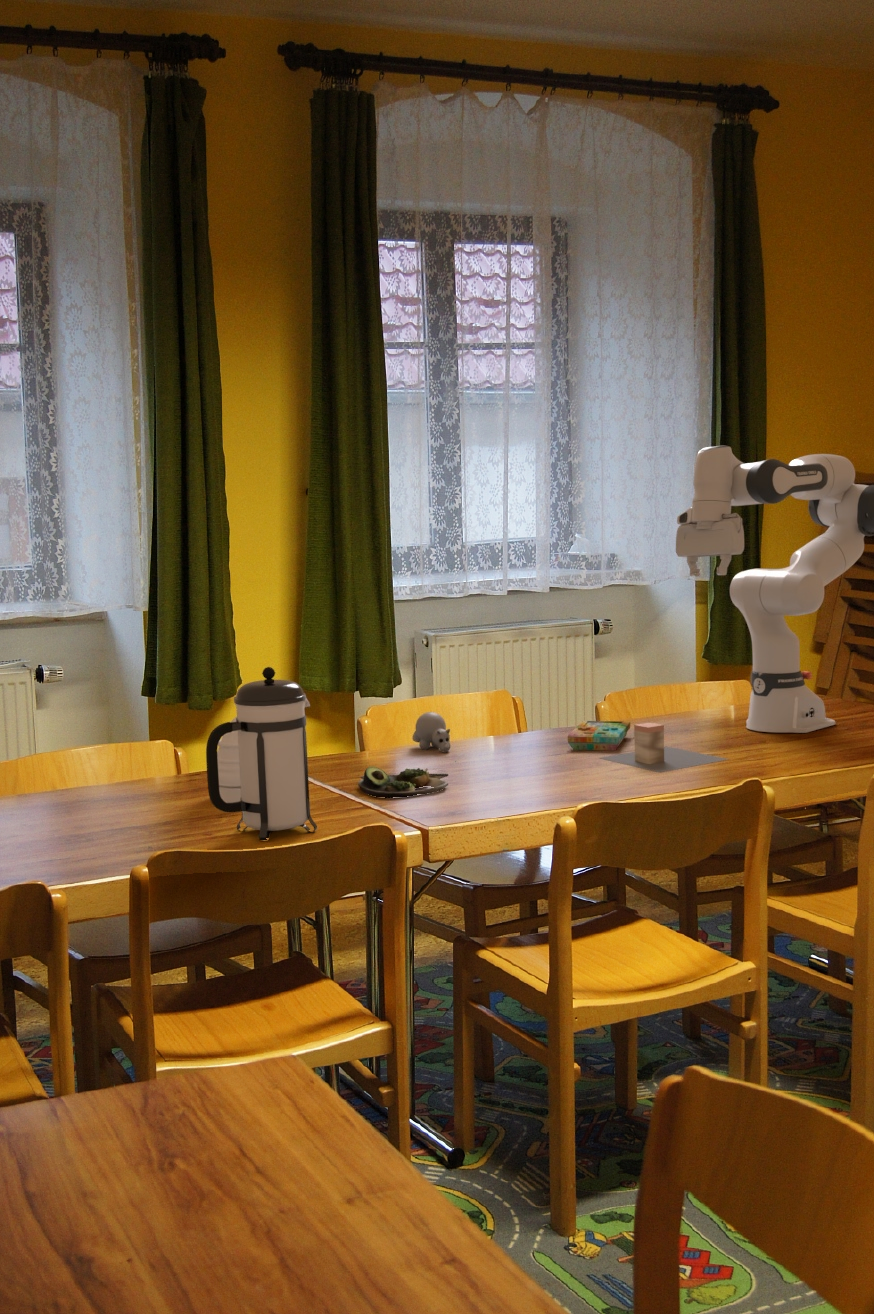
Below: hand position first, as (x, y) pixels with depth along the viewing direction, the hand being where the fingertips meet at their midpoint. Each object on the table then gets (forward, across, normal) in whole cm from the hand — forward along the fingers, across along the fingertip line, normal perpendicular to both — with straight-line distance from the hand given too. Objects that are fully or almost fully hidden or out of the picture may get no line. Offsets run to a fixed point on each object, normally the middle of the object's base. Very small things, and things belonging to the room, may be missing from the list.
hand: (707, 575), depth 297 cm
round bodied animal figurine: (+44, +36, +50) cm, 75 cm away
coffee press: (+56, -14, +109) cm, 123 cm away
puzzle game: (+41, +17, +15) cm, 47 cm away
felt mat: (+42, -7, +15) cm, 45 cm away
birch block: (+42, -7, +19) cm, 47 cm away
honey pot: (+53, +16, +104) cm, 117 cm away
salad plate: (+50, +4, +74) cm, 90 cm away
